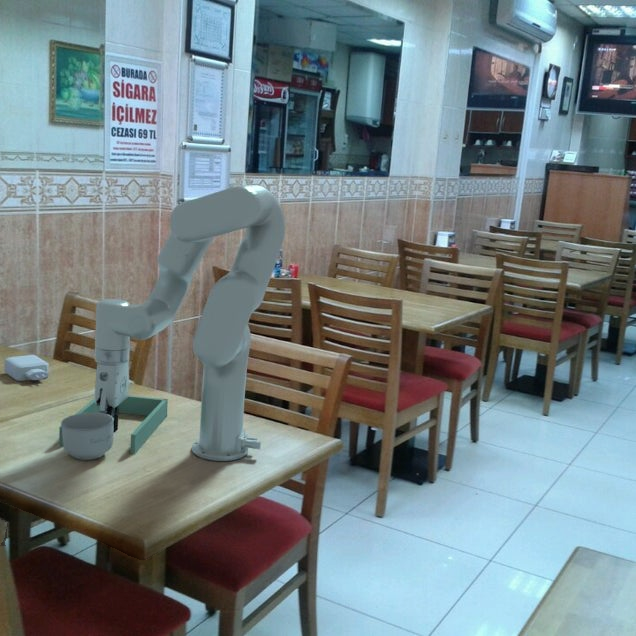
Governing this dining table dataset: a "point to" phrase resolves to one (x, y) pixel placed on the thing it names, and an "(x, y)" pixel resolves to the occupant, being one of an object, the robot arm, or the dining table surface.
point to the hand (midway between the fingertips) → (109, 430)
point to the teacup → (88, 434)
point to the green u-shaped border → (138, 406)
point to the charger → (26, 368)
